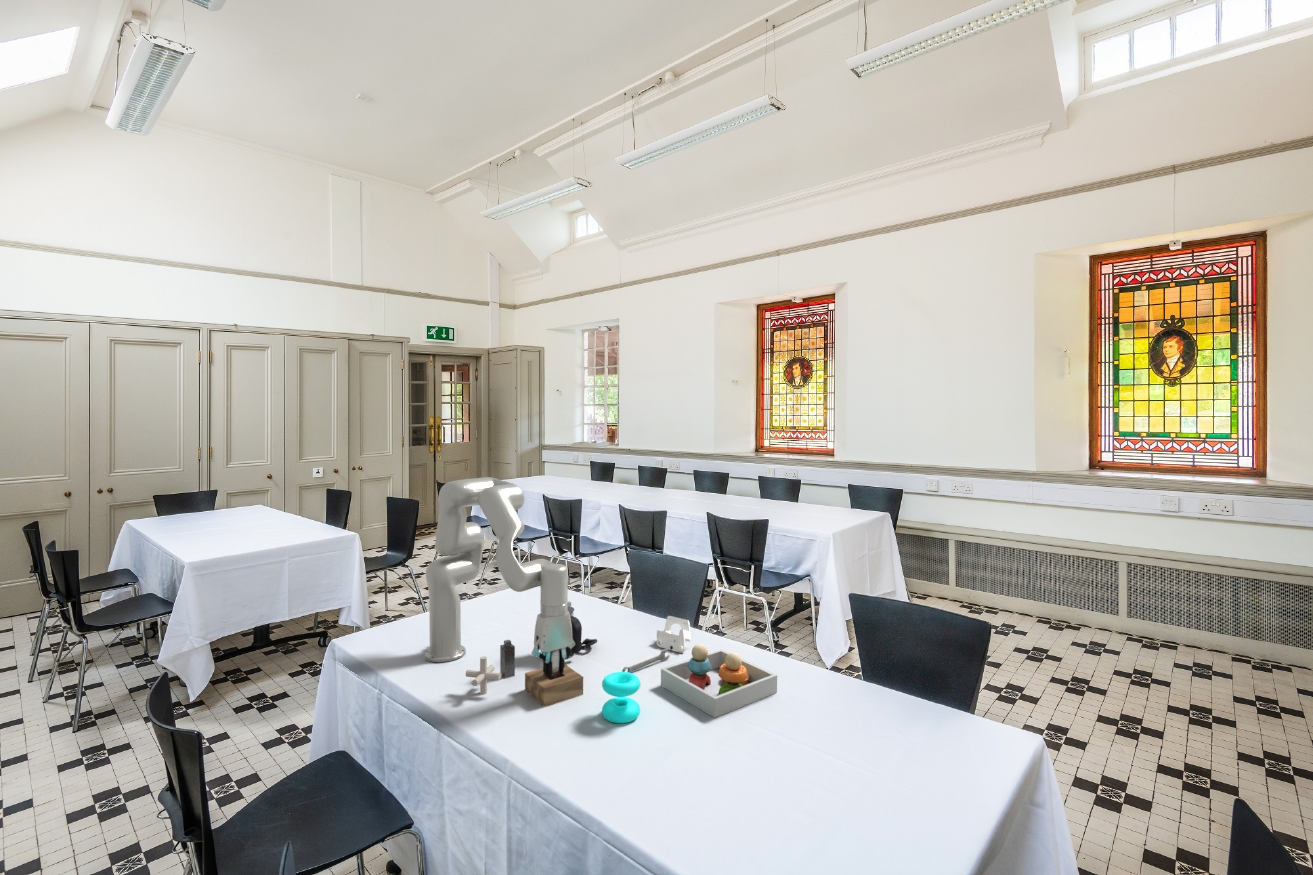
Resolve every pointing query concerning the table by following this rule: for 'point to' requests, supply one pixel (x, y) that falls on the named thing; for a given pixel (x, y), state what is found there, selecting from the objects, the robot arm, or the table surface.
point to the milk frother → (578, 635)
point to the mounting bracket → (673, 640)
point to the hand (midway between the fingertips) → (553, 672)
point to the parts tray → (726, 702)
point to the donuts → (621, 697)
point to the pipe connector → (483, 675)
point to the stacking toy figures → (729, 671)
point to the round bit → (555, 664)
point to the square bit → (507, 659)
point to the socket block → (553, 686)
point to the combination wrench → (648, 661)
